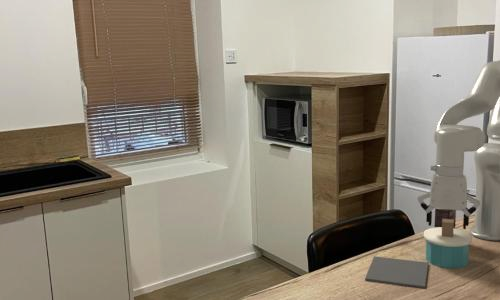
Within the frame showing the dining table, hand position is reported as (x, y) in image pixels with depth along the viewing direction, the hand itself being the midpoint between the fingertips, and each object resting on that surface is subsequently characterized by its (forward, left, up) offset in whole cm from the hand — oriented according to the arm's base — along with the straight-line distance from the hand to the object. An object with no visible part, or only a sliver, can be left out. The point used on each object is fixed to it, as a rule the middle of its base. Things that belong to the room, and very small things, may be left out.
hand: (447, 226), depth 146 cm
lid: (0, 0, -4) cm, 4 cm away
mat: (+13, -13, -11) cm, 21 cm away
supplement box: (-14, -1, -11) cm, 18 cm away
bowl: (0, 0, -11) cm, 11 cm away
